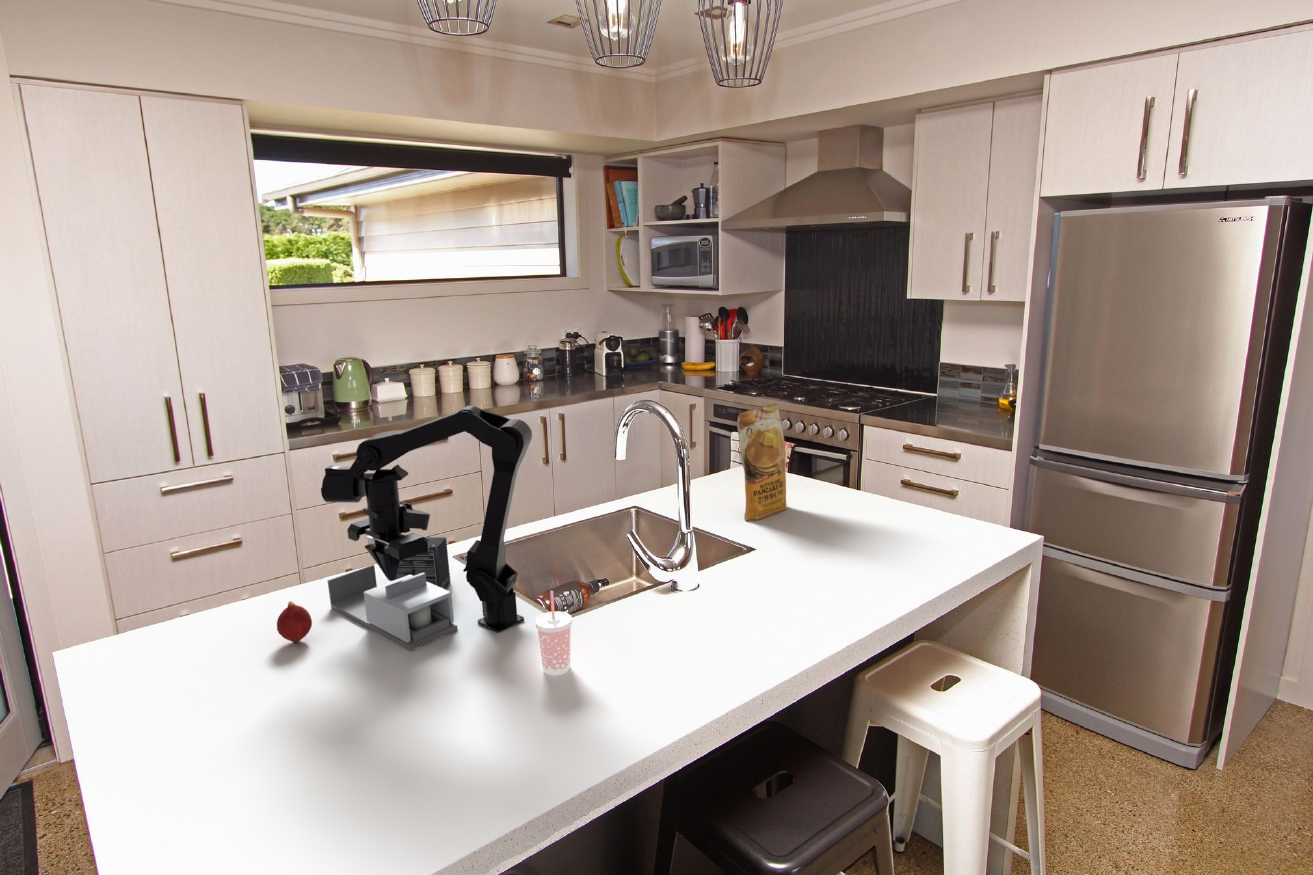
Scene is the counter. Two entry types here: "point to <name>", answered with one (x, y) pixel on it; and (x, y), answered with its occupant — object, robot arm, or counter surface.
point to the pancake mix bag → (763, 461)
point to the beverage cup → (554, 640)
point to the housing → (352, 604)
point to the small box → (429, 563)
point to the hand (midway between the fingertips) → (391, 579)
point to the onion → (294, 622)
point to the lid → (405, 603)
